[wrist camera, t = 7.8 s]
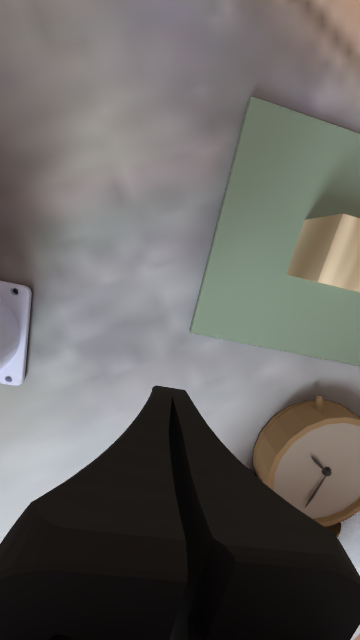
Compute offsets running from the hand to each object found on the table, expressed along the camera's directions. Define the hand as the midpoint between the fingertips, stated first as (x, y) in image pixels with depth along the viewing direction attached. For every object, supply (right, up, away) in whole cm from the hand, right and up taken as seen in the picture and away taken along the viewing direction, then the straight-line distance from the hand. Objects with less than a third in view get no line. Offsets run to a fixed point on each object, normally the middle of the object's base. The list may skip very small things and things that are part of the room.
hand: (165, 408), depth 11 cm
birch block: (+9, +8, +7) cm, 14 cm away
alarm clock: (+12, -10, +16) cm, 22 cm away
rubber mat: (+13, +8, +10) cm, 18 cm away
